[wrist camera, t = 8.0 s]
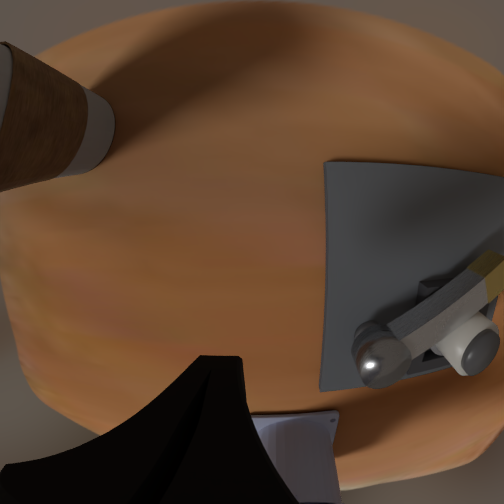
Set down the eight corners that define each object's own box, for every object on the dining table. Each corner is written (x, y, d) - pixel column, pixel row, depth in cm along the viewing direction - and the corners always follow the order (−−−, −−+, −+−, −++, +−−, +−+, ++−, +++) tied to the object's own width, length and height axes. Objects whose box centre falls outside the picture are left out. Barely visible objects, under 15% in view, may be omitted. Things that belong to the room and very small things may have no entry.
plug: (461, 341, 17) (493, 374, 12) (416, 352, 17) (446, 393, 12) (474, 288, 16) (515, 315, 11) (429, 295, 16) (469, 329, 11)
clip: (359, 372, 16) (369, 396, 14) (343, 340, 15) (353, 364, 13) (493, 280, 14) (513, 291, 11) (486, 242, 13) (509, 251, 11)
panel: (475, 353, 18) (485, 364, 16) (318, 385, 19) (322, 402, 17) (503, 177, 14) (519, 179, 12) (323, 162, 15) (330, 160, 13)
